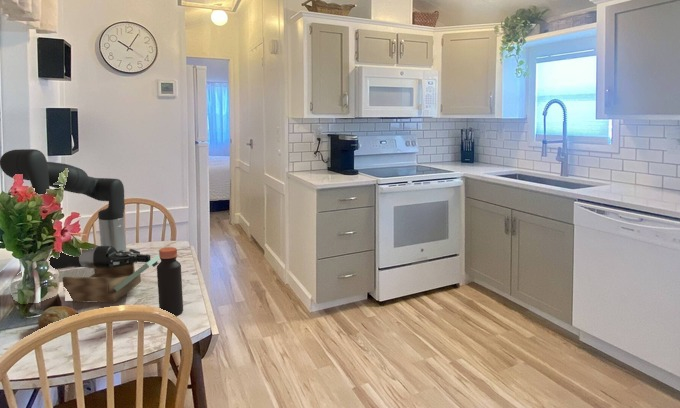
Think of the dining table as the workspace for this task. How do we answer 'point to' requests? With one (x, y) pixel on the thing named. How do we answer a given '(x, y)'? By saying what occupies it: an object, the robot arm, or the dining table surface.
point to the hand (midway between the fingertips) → (149, 258)
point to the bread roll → (54, 315)
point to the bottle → (169, 281)
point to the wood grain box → (101, 284)
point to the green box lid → (138, 272)
